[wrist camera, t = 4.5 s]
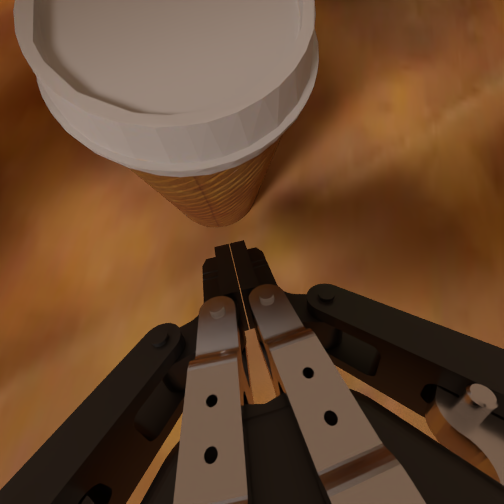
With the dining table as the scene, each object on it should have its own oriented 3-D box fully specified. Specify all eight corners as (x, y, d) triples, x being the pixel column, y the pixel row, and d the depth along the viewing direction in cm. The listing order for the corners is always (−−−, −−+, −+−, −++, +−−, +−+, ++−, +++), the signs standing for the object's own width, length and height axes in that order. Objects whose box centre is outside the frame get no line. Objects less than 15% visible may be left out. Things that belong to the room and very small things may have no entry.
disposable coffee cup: (185, 121, 20) (97, -145, 8) (292, 159, 19) (368, -60, 8) (133, 222, 18) (-82, 70, 6) (251, 266, 17) (268, 197, 6)
